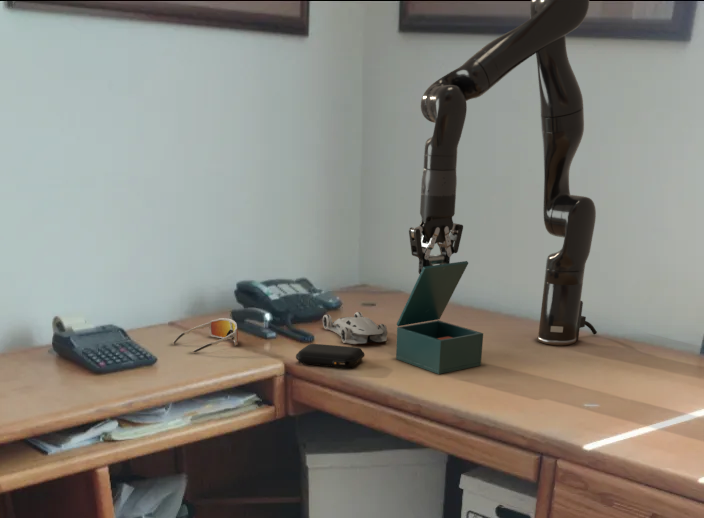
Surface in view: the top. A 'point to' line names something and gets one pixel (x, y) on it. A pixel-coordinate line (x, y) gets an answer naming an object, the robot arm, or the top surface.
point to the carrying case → (330, 355)
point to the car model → (356, 329)
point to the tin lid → (432, 291)
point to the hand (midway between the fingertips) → (433, 275)
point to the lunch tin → (439, 346)
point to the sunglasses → (216, 331)
